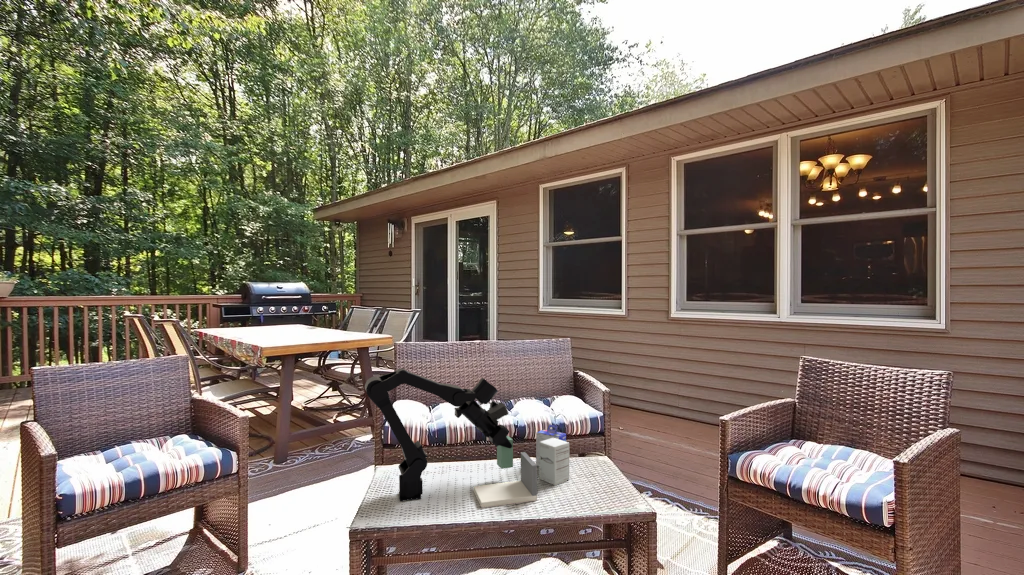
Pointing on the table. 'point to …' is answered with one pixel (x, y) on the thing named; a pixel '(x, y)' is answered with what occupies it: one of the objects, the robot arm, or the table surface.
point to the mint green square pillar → (505, 455)
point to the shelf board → (511, 487)
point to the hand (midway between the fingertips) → (508, 445)
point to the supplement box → (554, 461)
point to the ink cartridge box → (546, 435)
